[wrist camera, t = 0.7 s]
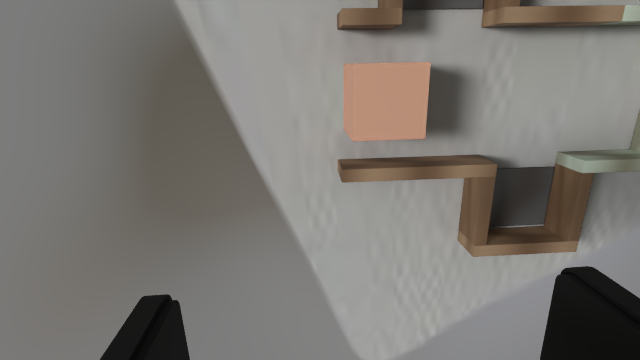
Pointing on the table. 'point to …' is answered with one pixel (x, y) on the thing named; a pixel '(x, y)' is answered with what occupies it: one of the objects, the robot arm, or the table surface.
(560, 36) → the table surface
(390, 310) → the table surface
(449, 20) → the table surface
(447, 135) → the table surface
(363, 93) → the block
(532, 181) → the wooden zigzag frame
